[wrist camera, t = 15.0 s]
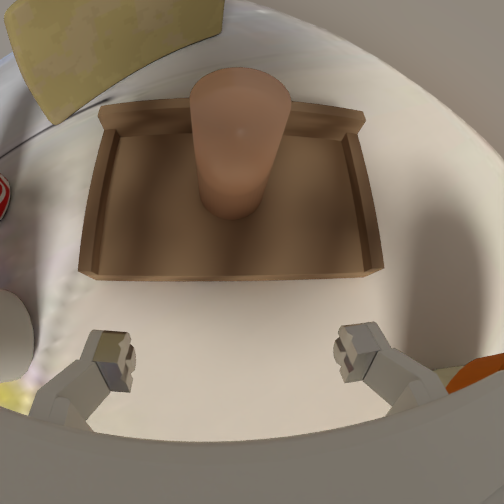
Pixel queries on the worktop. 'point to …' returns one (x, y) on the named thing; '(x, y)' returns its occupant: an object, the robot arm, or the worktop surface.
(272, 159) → the tan rounded cork
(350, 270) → the wooden cradle tray
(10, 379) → the can
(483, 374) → the reusable coffee cup
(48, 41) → the cheese
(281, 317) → the worktop surface
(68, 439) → the robot arm
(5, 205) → the beverage can
